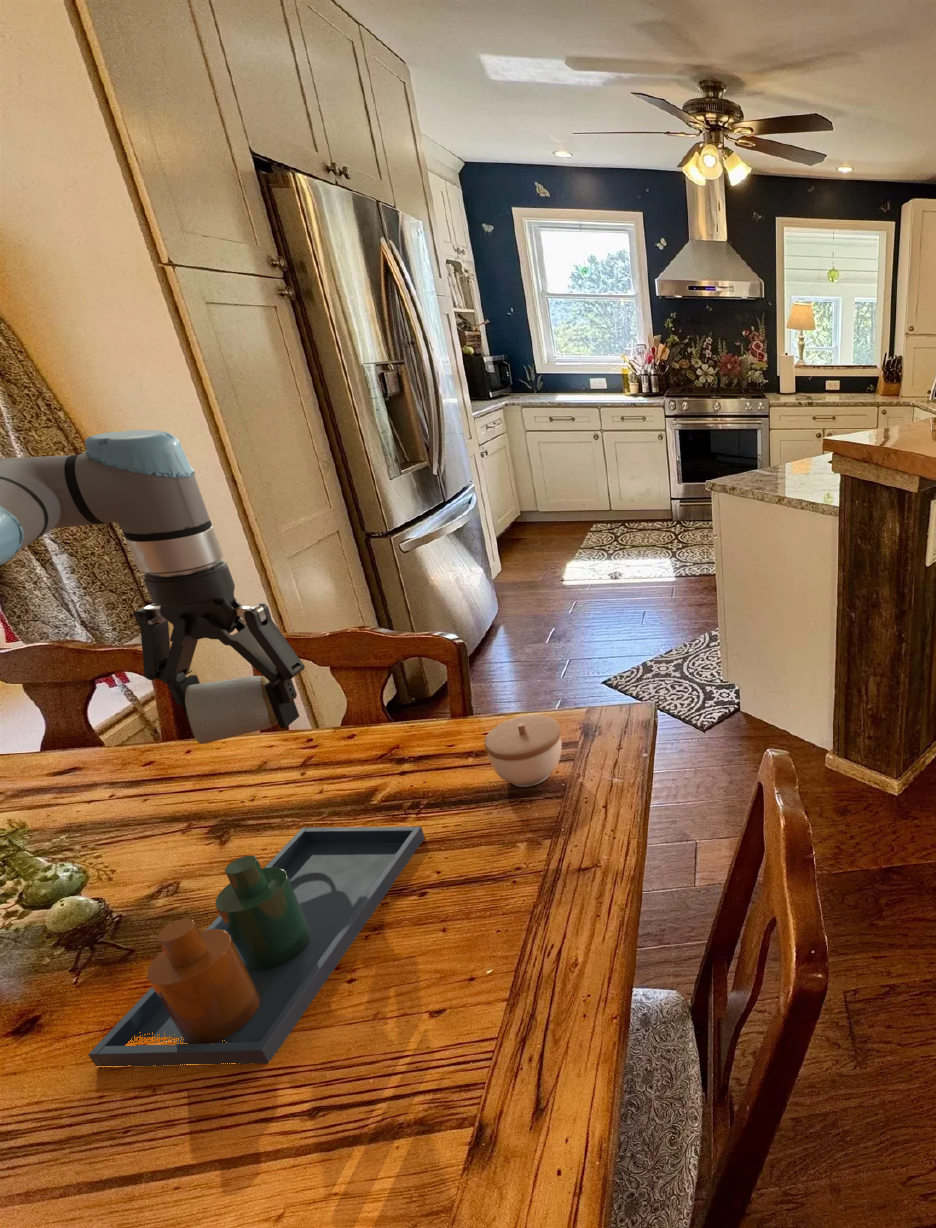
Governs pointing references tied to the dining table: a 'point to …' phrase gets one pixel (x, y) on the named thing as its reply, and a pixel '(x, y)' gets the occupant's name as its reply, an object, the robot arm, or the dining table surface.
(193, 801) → the dining table surface
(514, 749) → the trinket box
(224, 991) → the amber bottle
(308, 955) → the tray
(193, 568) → the robot arm
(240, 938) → the green bottle
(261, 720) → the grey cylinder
